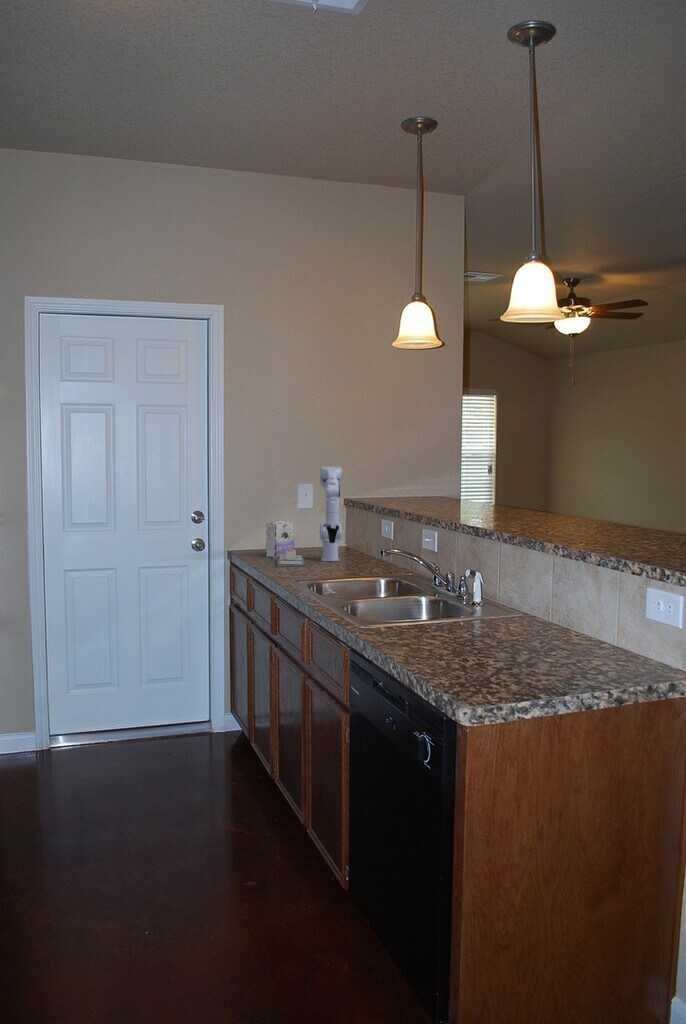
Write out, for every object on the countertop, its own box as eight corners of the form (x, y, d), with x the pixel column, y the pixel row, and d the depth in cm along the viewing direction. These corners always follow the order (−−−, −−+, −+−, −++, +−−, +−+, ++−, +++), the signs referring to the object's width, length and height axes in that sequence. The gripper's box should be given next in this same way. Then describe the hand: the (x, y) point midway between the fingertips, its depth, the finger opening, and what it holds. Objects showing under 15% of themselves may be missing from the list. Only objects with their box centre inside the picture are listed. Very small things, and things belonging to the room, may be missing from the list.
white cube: (285, 558, 359) (286, 548, 358) (295, 558, 359) (295, 548, 359) (285, 559, 354) (286, 550, 354) (295, 559, 355) (295, 550, 354)
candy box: (284, 554, 381) (285, 519, 380) (294, 555, 378) (294, 520, 376) (265, 557, 370) (266, 522, 369) (275, 558, 367) (275, 522, 365)
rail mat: (277, 559, 362) (277, 555, 362) (303, 560, 363) (304, 555, 363) (276, 566, 344) (277, 561, 344) (304, 566, 345) (304, 561, 345)
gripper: (322, 510, 355) (322, 540, 356) (324, 513, 340) (323, 545, 341) (338, 510, 355) (338, 540, 356) (340, 513, 341) (340, 545, 342)
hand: (332, 543), depth 349 cm, fingers closed
